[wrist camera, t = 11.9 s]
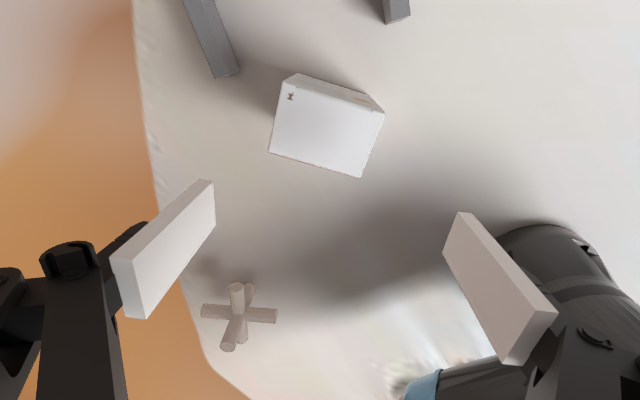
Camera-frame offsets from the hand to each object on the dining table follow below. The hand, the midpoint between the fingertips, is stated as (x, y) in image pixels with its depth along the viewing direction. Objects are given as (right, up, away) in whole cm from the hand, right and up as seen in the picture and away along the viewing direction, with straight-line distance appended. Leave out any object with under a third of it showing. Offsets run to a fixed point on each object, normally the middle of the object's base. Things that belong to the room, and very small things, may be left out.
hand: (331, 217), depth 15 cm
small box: (0, +11, +15) cm, 19 cm away
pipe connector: (-11, -12, +28) cm, 32 cm away
